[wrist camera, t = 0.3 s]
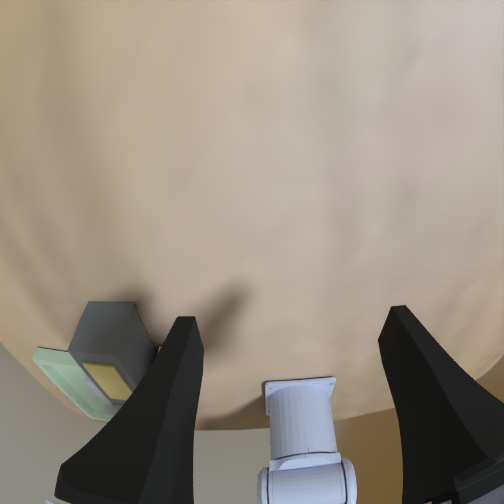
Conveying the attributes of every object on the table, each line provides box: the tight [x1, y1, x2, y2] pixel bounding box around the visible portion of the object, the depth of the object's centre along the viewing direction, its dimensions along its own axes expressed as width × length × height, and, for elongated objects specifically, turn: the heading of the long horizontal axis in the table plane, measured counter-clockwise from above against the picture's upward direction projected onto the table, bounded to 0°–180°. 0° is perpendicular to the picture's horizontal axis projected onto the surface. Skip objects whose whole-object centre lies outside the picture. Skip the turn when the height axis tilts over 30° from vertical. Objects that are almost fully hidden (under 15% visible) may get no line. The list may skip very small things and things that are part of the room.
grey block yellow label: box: [68, 302, 157, 404], centre depth 25 cm, size 9×5×6 cm, turn 3°
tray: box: [32, 348, 112, 422], centre depth 34 cm, size 17×10×2 cm, turn 3°
